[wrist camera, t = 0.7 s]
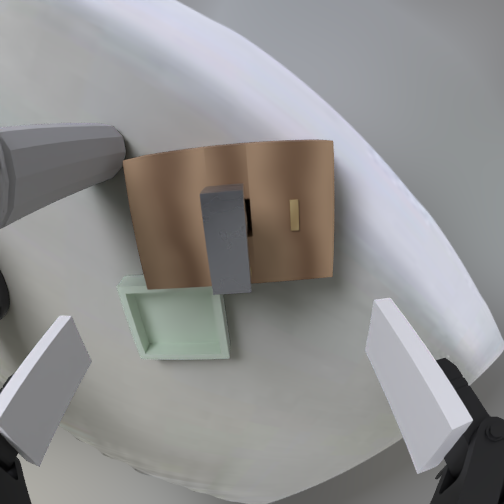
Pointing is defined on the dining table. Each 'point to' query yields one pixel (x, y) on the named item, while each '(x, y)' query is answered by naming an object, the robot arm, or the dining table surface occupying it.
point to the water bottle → (53, 163)
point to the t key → (226, 238)
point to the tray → (175, 321)
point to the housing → (258, 209)
